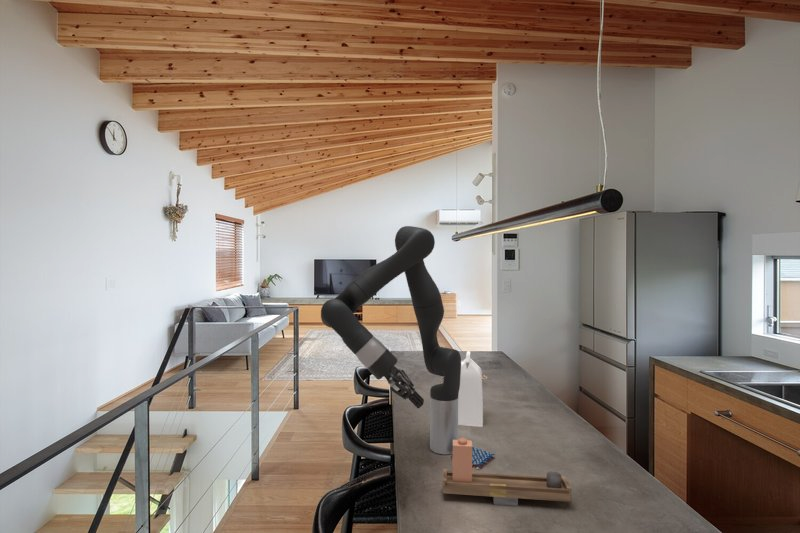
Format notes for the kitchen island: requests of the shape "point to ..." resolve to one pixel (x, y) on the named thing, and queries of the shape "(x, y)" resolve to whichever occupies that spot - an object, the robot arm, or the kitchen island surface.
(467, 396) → the milk
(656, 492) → the kitchen island surface
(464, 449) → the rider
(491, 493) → the beam
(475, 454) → the woven mat
